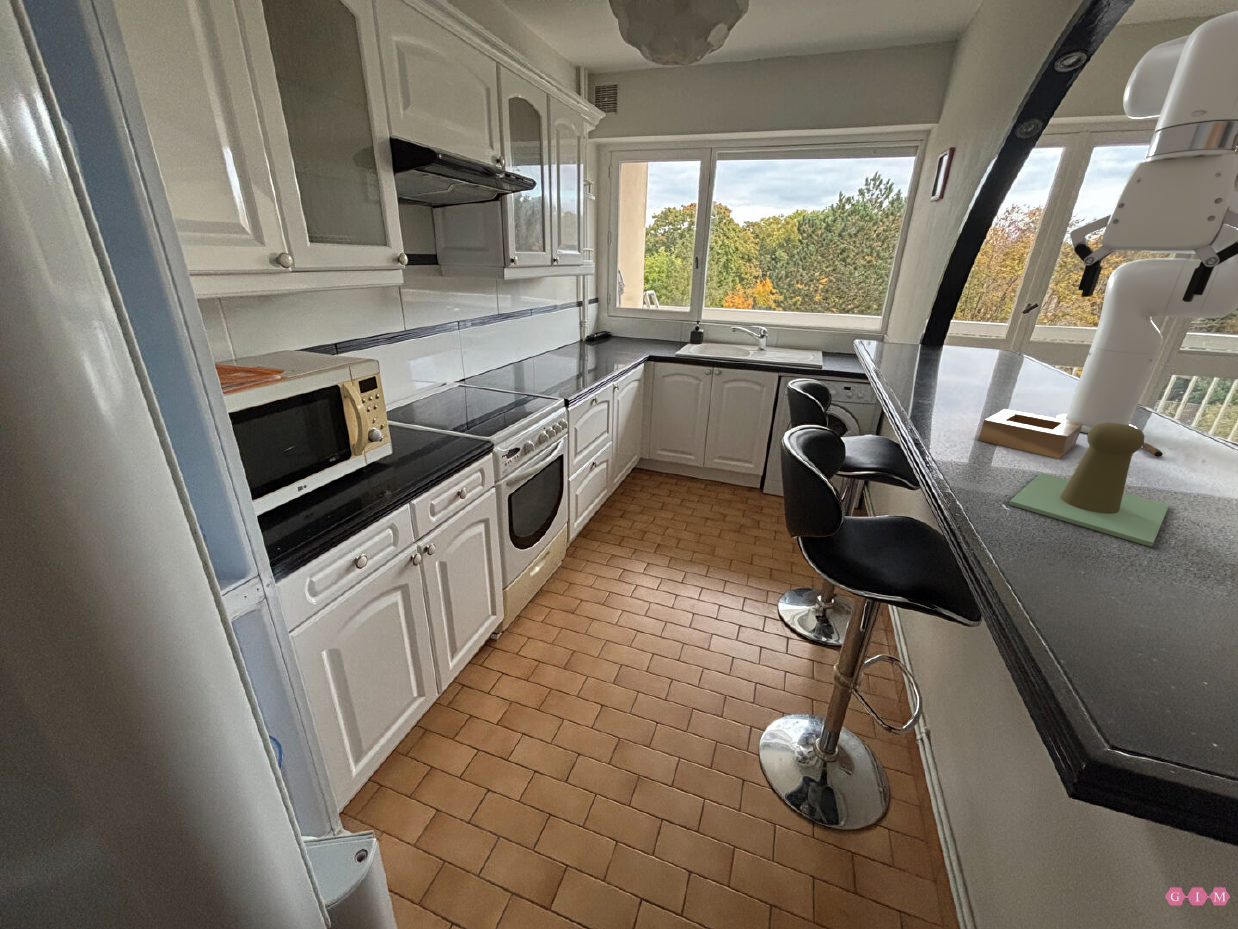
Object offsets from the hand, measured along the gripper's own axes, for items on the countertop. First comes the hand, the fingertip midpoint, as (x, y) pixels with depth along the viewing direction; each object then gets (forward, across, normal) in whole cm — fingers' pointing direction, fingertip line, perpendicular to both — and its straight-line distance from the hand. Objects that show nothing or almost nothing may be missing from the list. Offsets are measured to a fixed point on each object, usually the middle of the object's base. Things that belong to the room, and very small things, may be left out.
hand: (1134, 298), depth 66 cm
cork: (+26, -4, +8) cm, 28 cm away
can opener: (+26, -6, -30) cm, 40 cm away
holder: (+26, +9, -18) cm, 33 cm away
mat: (+26, -4, +8) cm, 28 cm away
